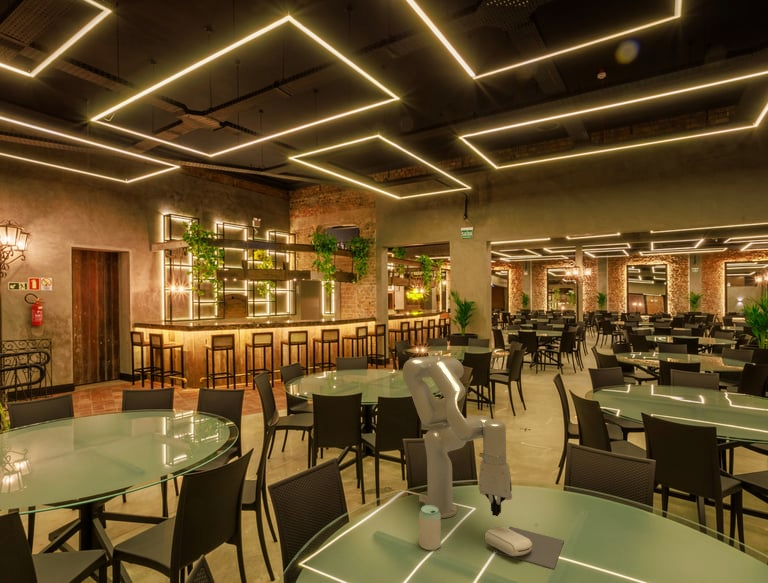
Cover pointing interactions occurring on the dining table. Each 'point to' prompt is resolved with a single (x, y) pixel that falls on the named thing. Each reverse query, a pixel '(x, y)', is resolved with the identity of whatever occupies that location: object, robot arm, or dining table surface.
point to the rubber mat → (539, 549)
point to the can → (429, 527)
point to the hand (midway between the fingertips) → (496, 514)
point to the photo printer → (508, 541)
